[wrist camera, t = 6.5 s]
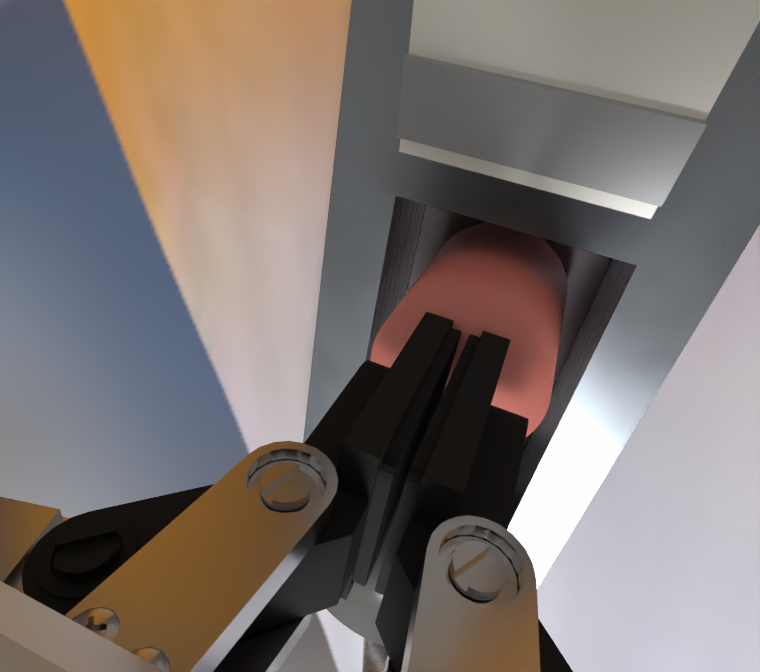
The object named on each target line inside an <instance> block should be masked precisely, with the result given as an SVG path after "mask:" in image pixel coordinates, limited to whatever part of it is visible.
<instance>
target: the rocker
mask: <svg viewBox="0 0 760 672" xmlns="http://www.w3.org/2000/svg"><path fill="white" fill-rule="evenodd" d="M759 21H760V0H414V2H413V13H412V23H411V34H410V44H409V52H408V53H407V54H406V55H405V56H404V62H403V73H402V84H401V95H400V106H399V117H398V129H397V138H400V148H399V152H403V153H407V154H410V155H414V156H418V157H421V158H425V159H429V160H432V161H436V162H440V163H444V164H447V165H451V166H455V167H458V168H462V169H466V170H470V171H473V172H477V173H481V174H484V175H488V176H492V177H496V178H499V179H503V180H507V181H510V182H514V183H518V184H522V185H525V186H529V187H533V188H536V189H540V190H544V191H548V192H551V193H555V194H559V195H562V196H566V197H570V198H574V199H577V200H581V201H585V202H588V203H592V204H596V205H600V206H603V207H607V208H611V209H614V210H618V211H622V212H626V213H629V214H633V215H637V216H640V217H644V218H648V219H651V218H652V216H653V214H654V213H655V211H656V209H657V207H658V206H660V207H662V205H663V203H664V202H665V200H666V198H667V196H668V194H669V193H670V191H671V189H672V187H673V185H674V184H675V182H676V180H677V178H678V176H679V174H680V173H681V171H682V169H683V167H684V165H685V164H686V162H687V160H688V158H689V156H690V155H691V153H692V151H693V149H694V147H695V146H696V144H697V142H698V140H699V138H700V137H701V135H702V133H703V131H704V129H705V128H706V126H707V116H708V114H709V112H710V111H711V109H712V107H713V105H714V103H715V101H716V100H717V98H718V96H719V94H720V92H721V90H722V89H723V87H724V85H725V83H726V81H727V80H728V78H729V76H730V74H731V72H732V70H733V69H734V67H735V65H736V63H737V61H738V60H739V58H740V56H741V54H742V52H743V50H744V49H745V47H746V45H747V43H748V41H749V39H750V38H751V36H752V34H753V32H754V30H755V29H756V27H757V25H758V23H759Z"/></svg>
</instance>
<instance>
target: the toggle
mask: <svg viewBox="0 0 760 672" xmlns="http://www.w3.org/2000/svg"><path fill="white" fill-rule="evenodd" d="M387 657H388V654H387V651H386V649H385V646H382V645H379V644H377V643H375V642H372V641H370V640H368V639H366V638H364V648H363V671H362V672H384V667H385V662H386V660H387Z"/></svg>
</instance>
